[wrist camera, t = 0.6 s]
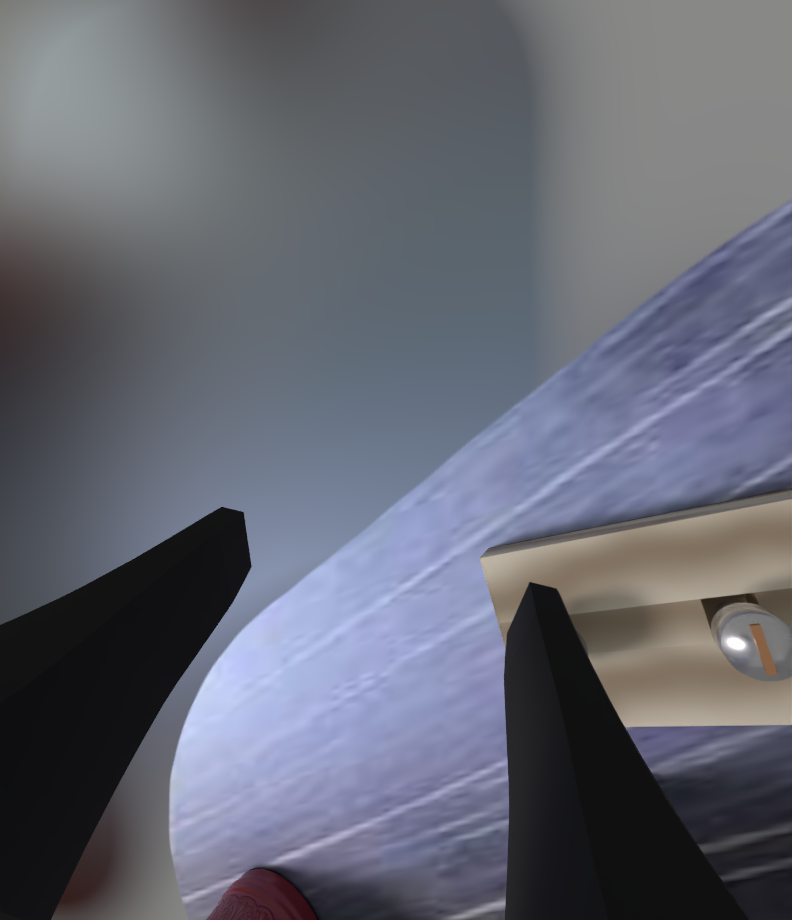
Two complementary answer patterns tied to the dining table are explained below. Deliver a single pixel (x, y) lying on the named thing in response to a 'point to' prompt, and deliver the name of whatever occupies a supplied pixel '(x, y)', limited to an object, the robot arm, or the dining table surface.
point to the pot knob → (753, 640)
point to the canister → (262, 899)
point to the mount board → (664, 605)
